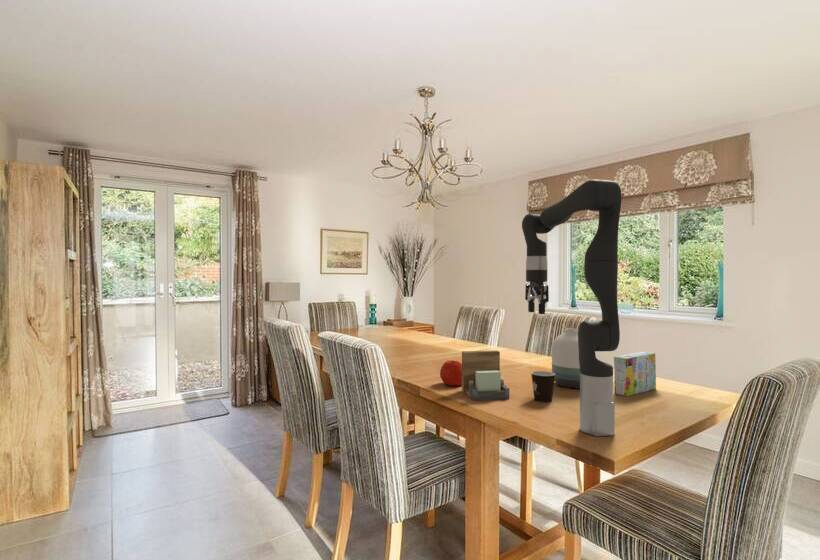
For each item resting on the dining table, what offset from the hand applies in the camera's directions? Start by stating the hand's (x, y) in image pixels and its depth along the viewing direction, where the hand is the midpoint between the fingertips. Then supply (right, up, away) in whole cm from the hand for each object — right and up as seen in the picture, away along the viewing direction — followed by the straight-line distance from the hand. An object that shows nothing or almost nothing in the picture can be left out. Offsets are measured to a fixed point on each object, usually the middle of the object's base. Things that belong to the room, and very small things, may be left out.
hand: (536, 313), depth 161 cm
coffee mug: (+4, -33, +6) cm, 34 cm away
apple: (-28, -33, +28) cm, 52 cm away
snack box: (+45, -33, +17) cm, 58 cm away
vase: (+23, -33, +26) cm, 48 cm away
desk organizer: (-17, -33, +12) cm, 39 cm away
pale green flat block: (-16, -33, +8) cm, 38 cm away
